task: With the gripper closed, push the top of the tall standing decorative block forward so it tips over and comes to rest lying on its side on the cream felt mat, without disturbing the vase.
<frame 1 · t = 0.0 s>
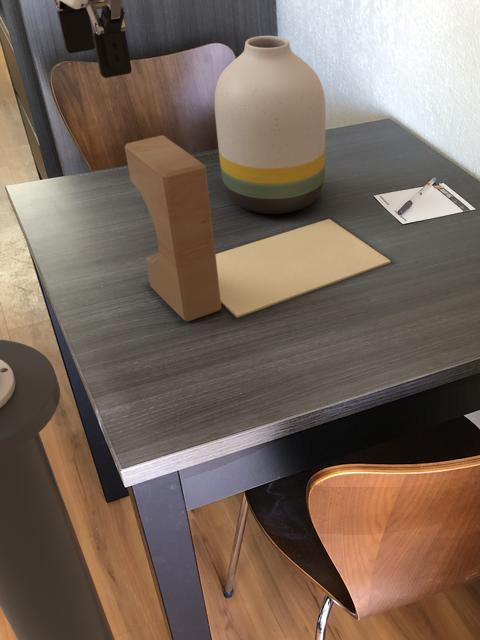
hand: (98, 62, 78), 30 cm above the table, tool pointing down, fingers open, 9 cm apart
felt mat: (287, 265, 107), on the table
decorative block: (185, 300, 100), on the table
vase: (274, 201, 122), on the table
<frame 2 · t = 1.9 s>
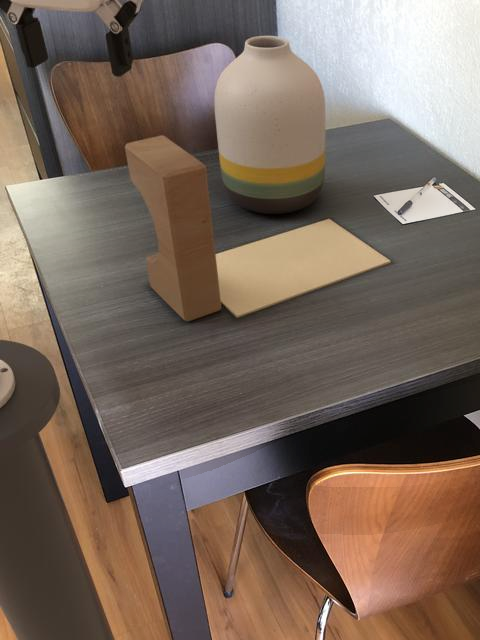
hand: (80, 68, 76), 30 cm above the table, tool pointing down, fingers open, 9 cm apart
nothing on the table moved.
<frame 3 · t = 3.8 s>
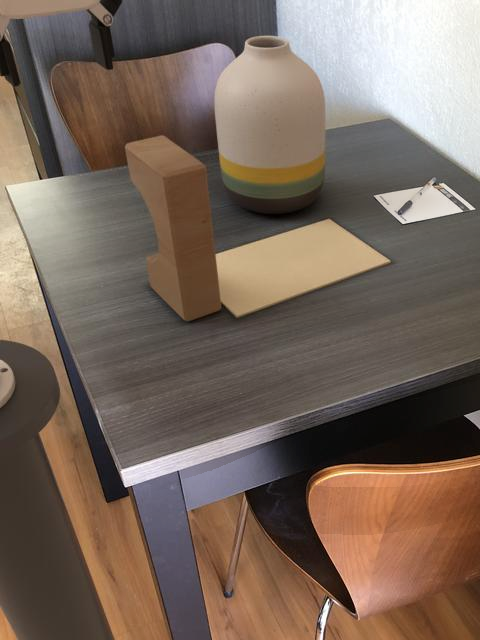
hand: (60, 74, 75), 30 cm above the table, tool pointing down, fingers open, 9 cm apart
nothing on the table moved.
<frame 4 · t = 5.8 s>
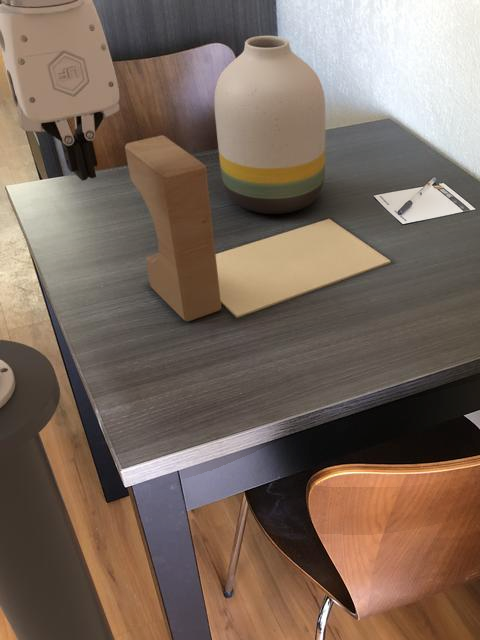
hand: (84, 174, 82), 20 cm above the table, tool pointing down, fingers closed
nothing on the table moved.
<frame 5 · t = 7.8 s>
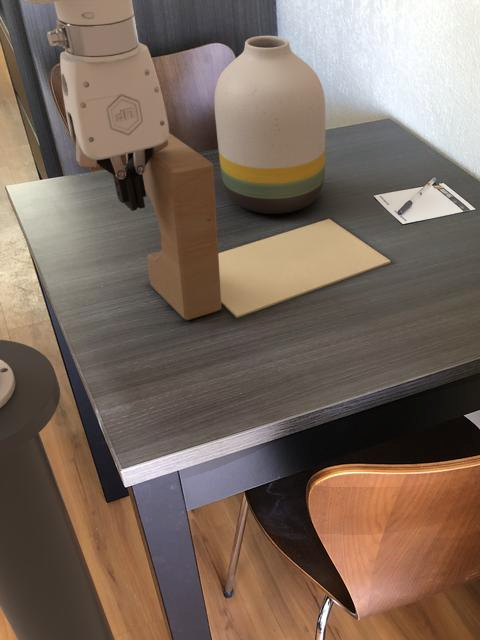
hand: (133, 204, 88), 15 cm above the table, tool pointing down, fingers closed
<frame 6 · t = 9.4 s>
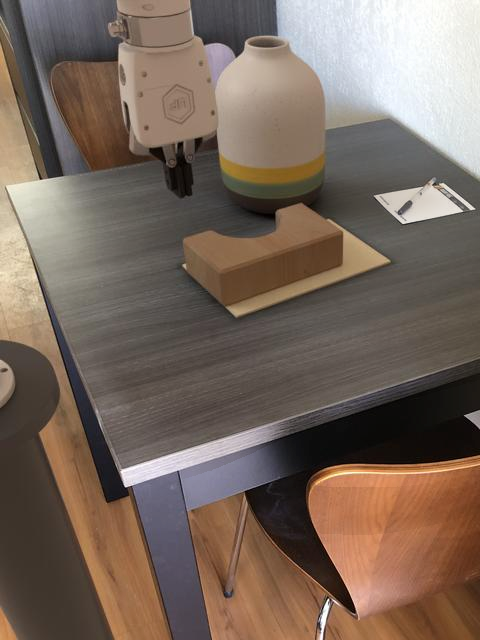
hand: (181, 192, 90), 15 cm above the table, tool pointing down, fingers closed
decorative block: (200, 272, 99), point 3 cm above the table, touching felt mat
everything else where it was.
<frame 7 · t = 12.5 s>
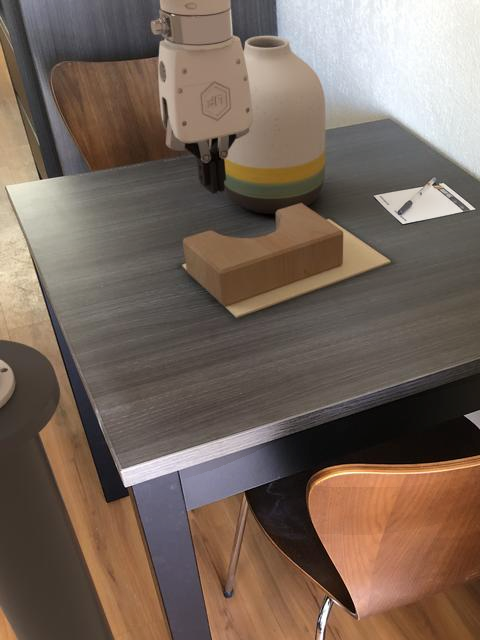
hand: (213, 188, 93), 14 cm above the table, tool pointing down, fingers closed
nothing on the table moved.
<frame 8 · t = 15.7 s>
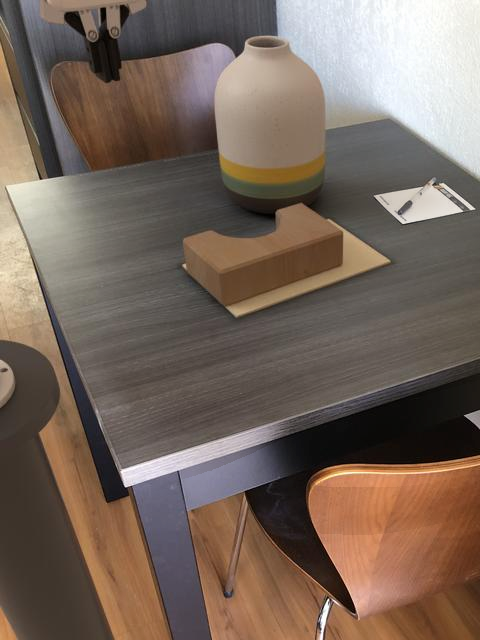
hand: (107, 78, 78), 29 cm above the table, tool pointing down, fingers closed
nothing on the table moved.
at the end: decorative block tilted 90°; decorative block inside the target area (4.2 cm from its centre), point 3.1 cm above the table; vase moved 0.2 cm from its start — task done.
